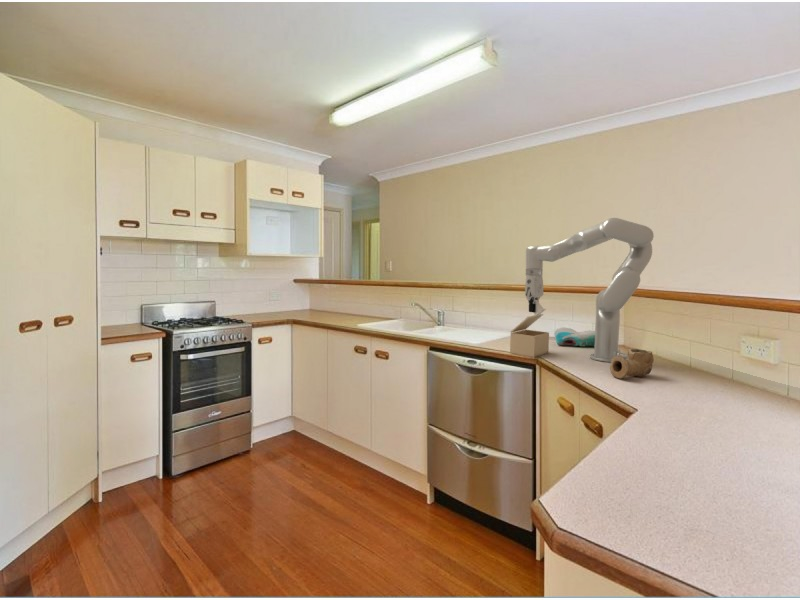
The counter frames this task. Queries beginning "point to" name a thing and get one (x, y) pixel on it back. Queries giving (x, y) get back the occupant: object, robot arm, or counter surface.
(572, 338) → the athletic shoe
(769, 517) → the counter surface
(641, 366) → the pipe
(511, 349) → the carton
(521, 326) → the lid flap
